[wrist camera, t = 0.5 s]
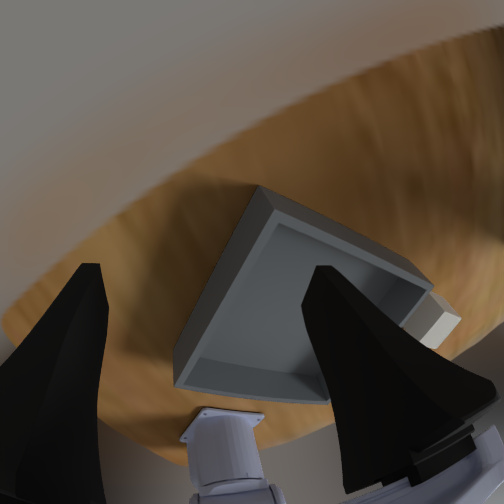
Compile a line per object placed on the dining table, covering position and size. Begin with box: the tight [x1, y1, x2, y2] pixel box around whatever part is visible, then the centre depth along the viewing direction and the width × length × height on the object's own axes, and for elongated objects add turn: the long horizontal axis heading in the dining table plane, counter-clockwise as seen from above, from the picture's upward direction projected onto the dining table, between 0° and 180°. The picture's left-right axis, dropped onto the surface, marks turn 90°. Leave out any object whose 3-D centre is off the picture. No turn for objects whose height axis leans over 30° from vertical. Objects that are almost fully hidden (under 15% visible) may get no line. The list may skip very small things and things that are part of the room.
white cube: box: [403, 291, 462, 349], centre depth 28 cm, size 4×4×4 cm
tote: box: [173, 185, 434, 405], centre depth 24 cm, size 16×16×4 cm
